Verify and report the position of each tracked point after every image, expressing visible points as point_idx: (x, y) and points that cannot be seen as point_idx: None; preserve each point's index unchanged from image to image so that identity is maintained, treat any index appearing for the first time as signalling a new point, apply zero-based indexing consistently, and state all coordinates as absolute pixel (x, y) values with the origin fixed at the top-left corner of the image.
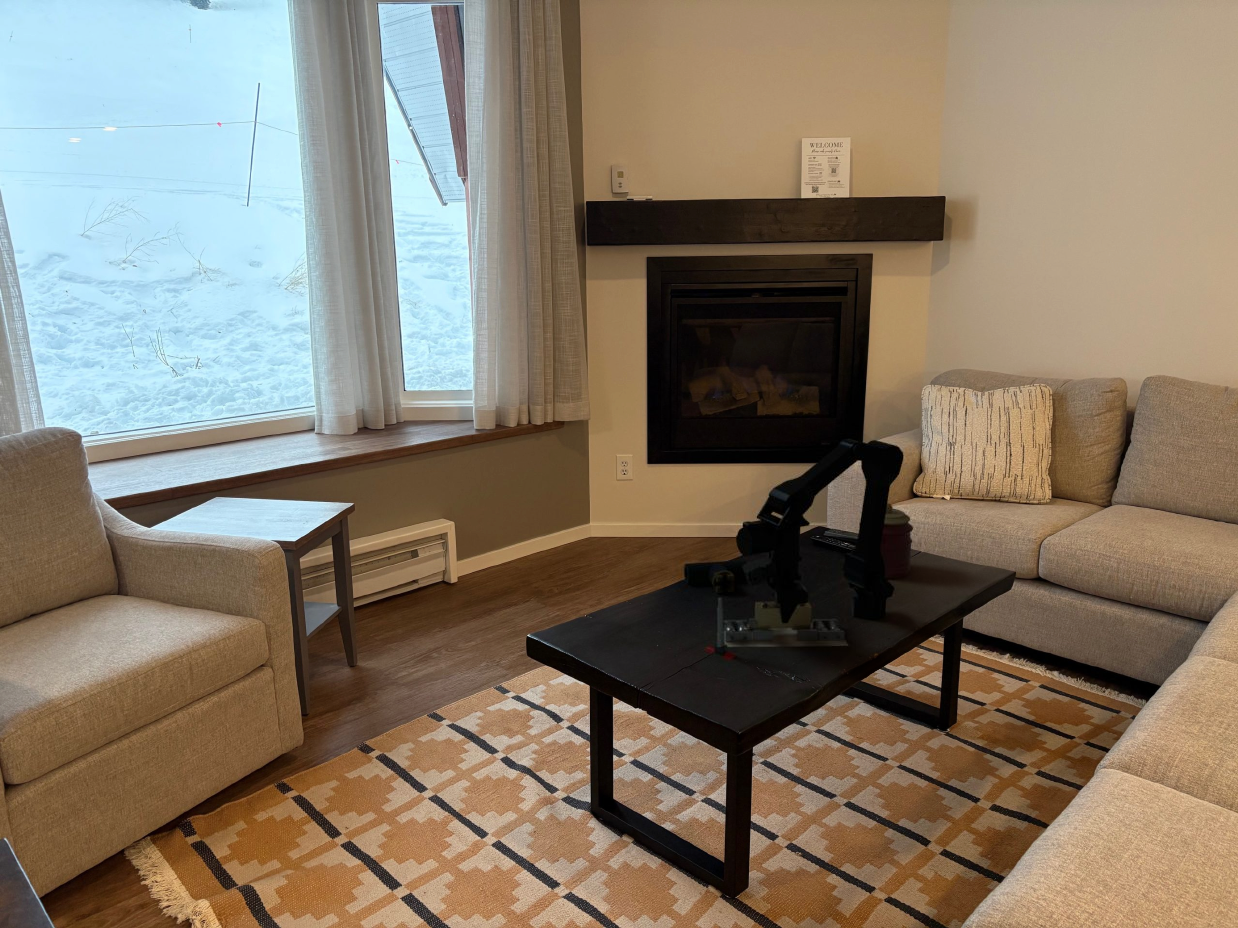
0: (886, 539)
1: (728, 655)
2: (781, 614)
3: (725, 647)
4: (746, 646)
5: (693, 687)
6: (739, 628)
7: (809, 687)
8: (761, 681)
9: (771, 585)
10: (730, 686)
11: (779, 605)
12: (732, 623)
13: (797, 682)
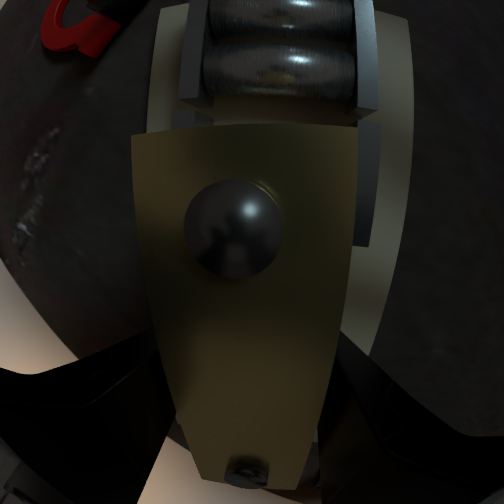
0: None
1: (91, 30)
2: (144, 331)
3: (94, 9)
4: (150, 85)
5: (25, 5)
6: (267, 46)
7: (5, 253)
8: (9, 143)
9: (433, 498)
10: (7, 73)
11: (223, 375)
12: (348, 29)
13: (11, 232)
